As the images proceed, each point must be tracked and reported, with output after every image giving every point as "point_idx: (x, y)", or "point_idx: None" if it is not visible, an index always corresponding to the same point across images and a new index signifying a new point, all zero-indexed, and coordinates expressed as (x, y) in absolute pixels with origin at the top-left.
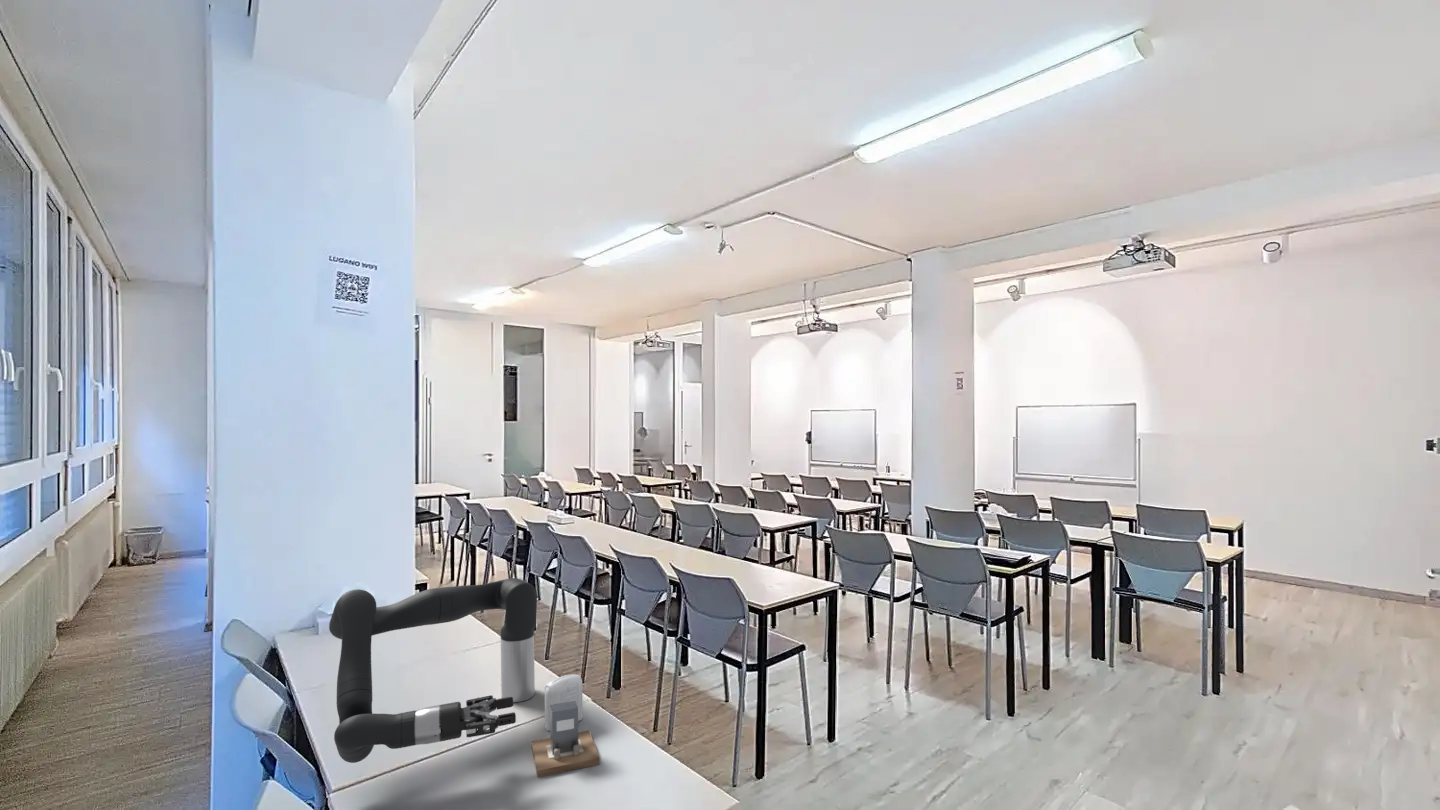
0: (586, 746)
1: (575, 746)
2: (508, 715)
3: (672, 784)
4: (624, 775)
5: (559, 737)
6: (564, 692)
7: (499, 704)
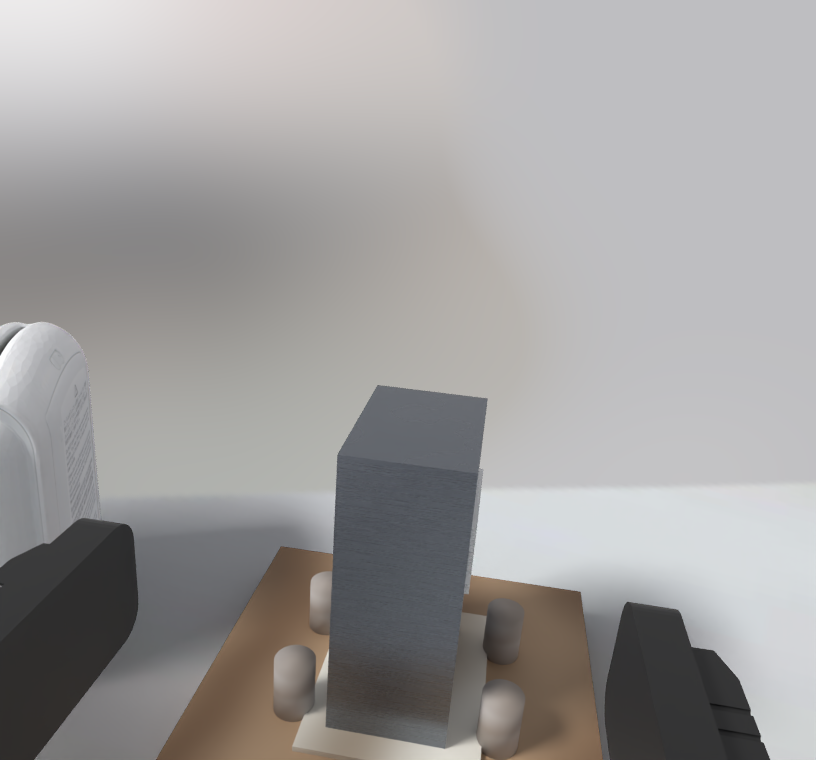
0: None
1: (508, 613)
2: (691, 682)
3: (792, 516)
4: (702, 585)
5: (460, 621)
6: (71, 420)
7: (7, 712)
